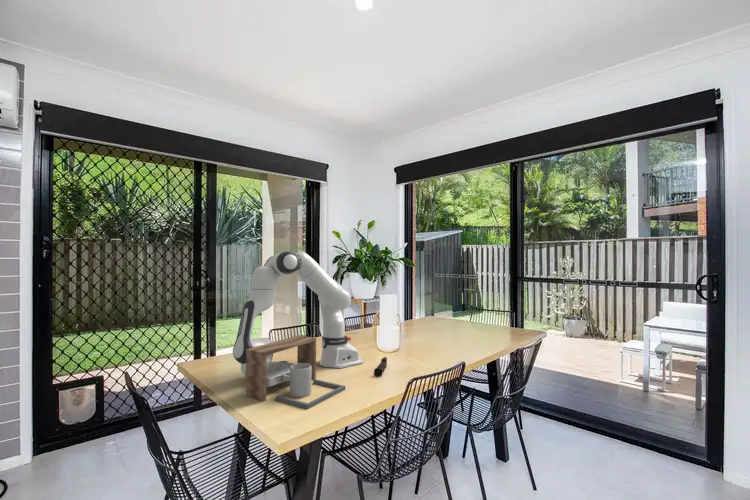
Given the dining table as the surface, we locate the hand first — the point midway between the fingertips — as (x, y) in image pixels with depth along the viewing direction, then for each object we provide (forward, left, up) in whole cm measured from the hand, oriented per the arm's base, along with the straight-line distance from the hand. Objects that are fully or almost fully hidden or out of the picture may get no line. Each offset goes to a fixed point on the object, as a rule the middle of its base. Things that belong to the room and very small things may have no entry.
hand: (295, 378), depth 153 cm
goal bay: (-4, +7, -5) cm, 9 cm away
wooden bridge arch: (+3, -6, -5) cm, 9 cm away
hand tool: (-45, -7, -5) cm, 45 cm away
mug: (-2, +3, -5) cm, 6 cm away
